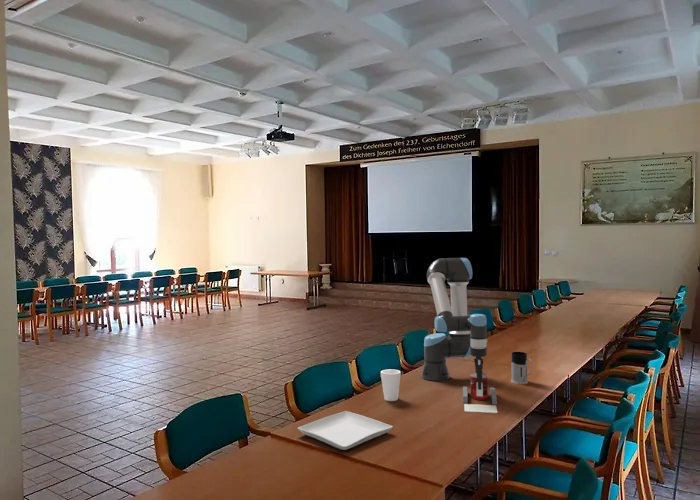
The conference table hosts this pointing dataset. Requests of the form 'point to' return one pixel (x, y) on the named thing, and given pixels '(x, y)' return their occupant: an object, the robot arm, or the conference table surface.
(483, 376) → the canned food
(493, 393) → the chute
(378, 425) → the square plate
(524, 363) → the white and black mug
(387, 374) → the foam cup
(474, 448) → the conference table surface
